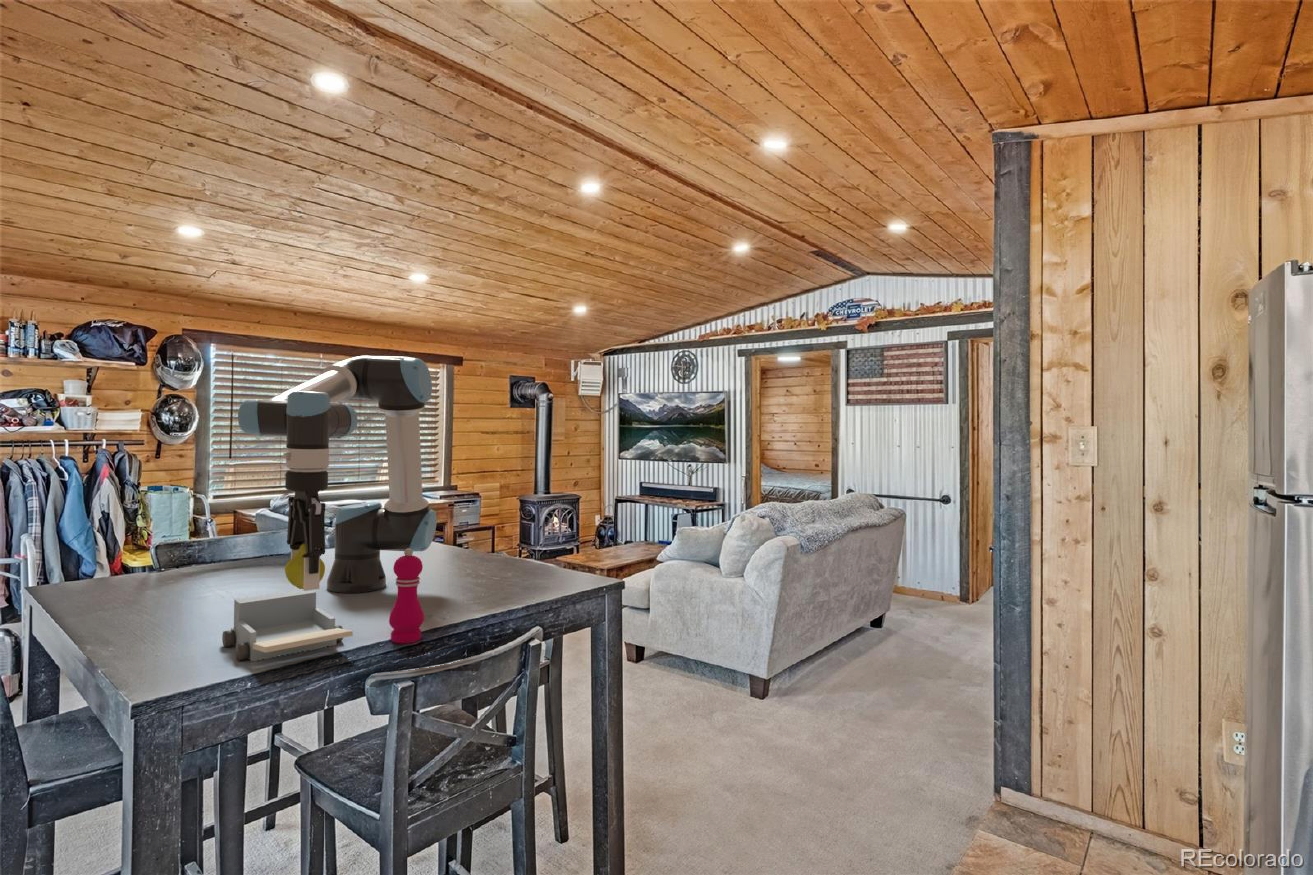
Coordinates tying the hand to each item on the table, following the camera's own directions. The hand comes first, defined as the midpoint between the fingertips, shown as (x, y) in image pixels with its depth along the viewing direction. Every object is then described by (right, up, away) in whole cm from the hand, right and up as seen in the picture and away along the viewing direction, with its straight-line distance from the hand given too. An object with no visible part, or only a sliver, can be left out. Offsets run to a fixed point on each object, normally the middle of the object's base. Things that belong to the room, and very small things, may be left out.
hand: (304, 585), depth 138 cm
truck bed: (-9, -14, +9) cm, 19 cm away
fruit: (0, -1, 0) cm, 1 cm away
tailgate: (-3, -11, +3) cm, 12 cm away
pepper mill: (+15, -15, +15) cm, 26 cm away
